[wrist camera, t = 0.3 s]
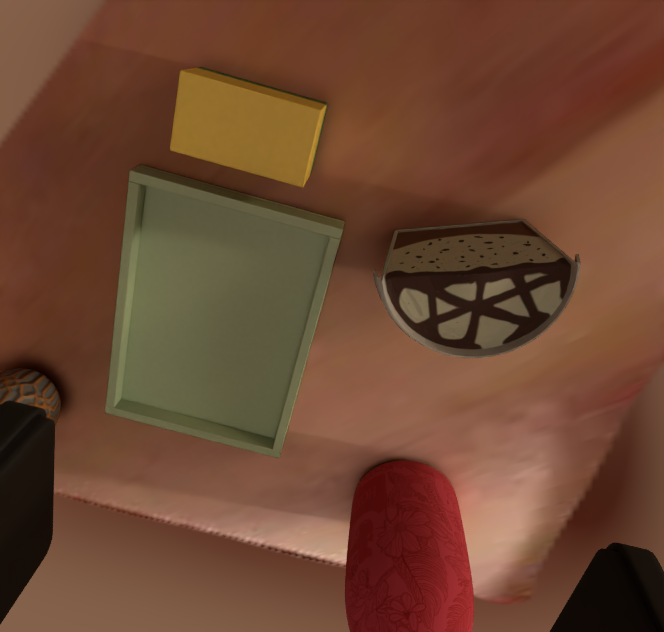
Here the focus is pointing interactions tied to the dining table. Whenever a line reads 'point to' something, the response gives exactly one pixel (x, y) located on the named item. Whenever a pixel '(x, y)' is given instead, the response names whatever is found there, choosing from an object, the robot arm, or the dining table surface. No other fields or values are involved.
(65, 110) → the dining table surface
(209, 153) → the sponge
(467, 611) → the wine bottle
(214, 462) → the dining table surface
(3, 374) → the vase
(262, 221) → the tray
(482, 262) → the food container
